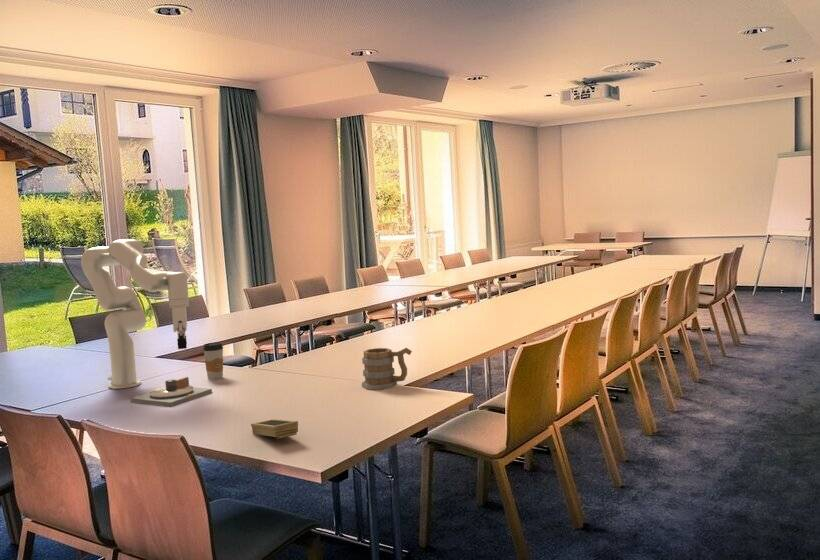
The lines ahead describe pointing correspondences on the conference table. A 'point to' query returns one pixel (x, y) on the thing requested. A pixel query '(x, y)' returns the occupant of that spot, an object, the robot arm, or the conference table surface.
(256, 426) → the box
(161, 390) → the dial
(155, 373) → the conference table surface
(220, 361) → the coffee cup
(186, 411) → the conference table surface
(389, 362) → the tankard
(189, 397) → the dial plate
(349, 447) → the conference table surface
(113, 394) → the conference table surface
